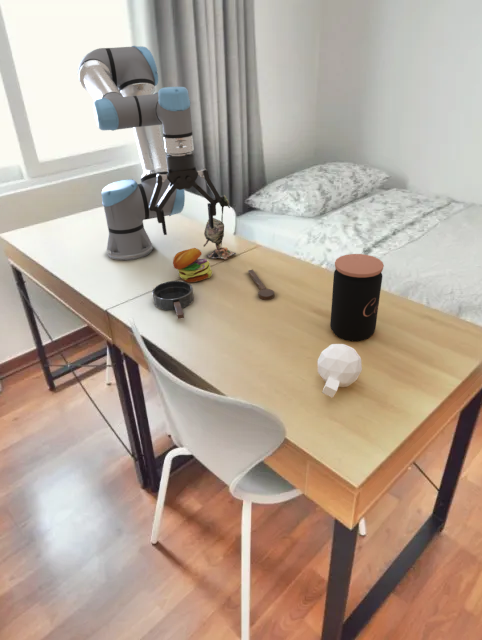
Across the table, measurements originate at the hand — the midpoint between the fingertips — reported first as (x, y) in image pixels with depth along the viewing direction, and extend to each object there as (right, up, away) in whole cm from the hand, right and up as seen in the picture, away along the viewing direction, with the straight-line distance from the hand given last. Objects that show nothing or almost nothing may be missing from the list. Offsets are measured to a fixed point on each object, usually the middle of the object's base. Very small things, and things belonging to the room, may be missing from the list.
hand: (188, 230), depth 132 cm
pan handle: (-1, -25, -12) cm, 28 cm away
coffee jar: (+42, -29, -20) cm, 55 cm away
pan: (-4, -20, -4) cm, 21 cm away
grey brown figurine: (+8, -4, +22) cm, 23 cm away
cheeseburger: (+1, -13, +9) cm, 15 cm away
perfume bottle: (+34, -39, -37) cm, 64 cm away
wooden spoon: (+20, -16, +2) cm, 26 cm away
